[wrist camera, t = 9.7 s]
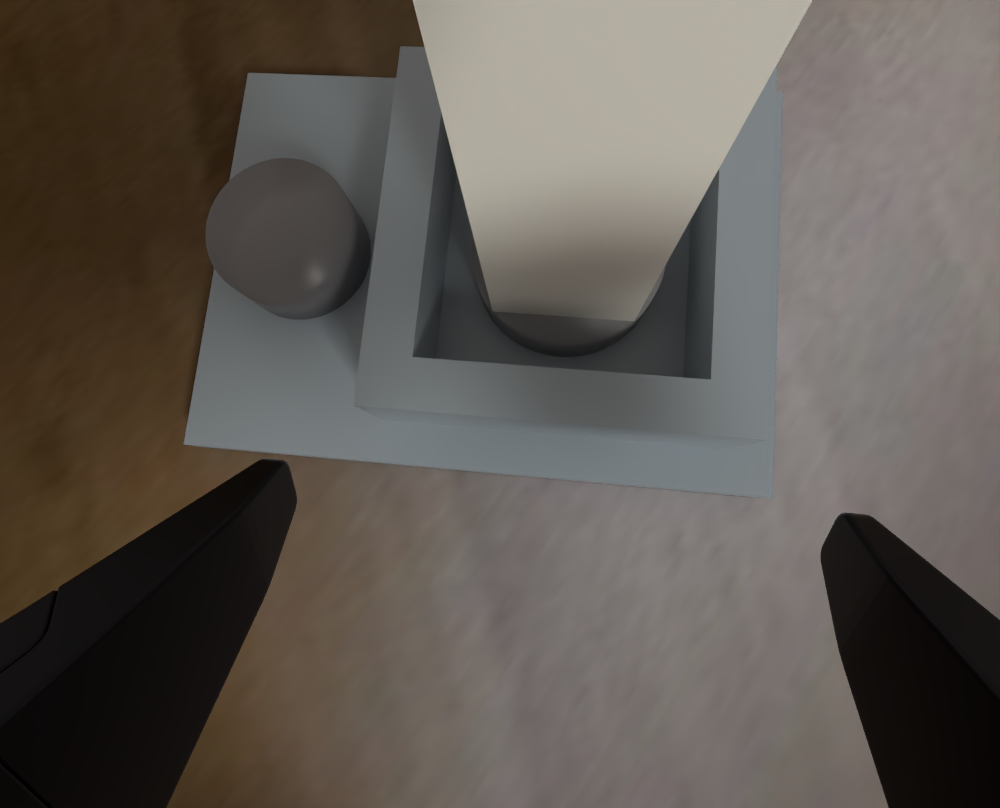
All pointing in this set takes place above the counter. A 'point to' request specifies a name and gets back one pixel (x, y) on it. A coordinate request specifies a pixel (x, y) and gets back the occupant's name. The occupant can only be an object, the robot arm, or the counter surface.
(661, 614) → the counter surface
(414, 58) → the housing
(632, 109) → the cream square pillar
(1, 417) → the counter surface
